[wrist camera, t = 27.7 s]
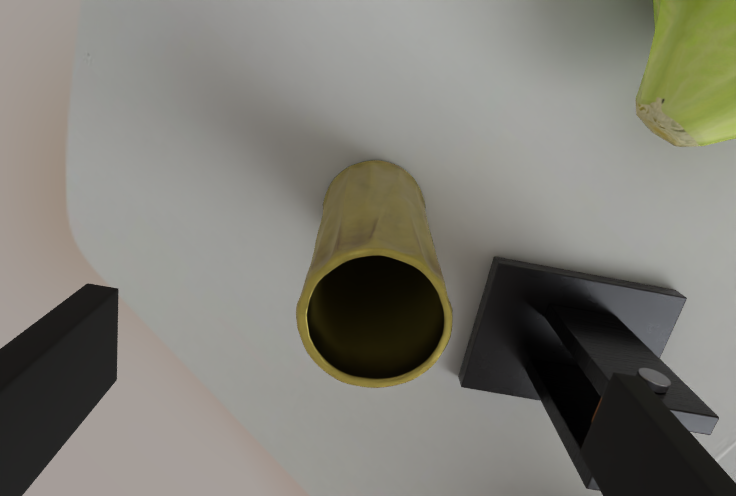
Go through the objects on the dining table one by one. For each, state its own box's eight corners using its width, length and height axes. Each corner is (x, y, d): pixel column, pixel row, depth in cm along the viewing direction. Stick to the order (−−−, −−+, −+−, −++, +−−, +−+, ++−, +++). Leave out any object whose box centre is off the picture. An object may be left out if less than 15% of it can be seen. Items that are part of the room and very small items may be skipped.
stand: (458, 376, 33) (495, 509, 23) (493, 256, 30) (554, 346, 20) (625, 405, 34) (732, 546, 24) (676, 289, 31) (824, 394, 21)
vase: (384, 138, 28) (395, 196, 15) (444, 220, 30) (503, 340, 16) (303, 200, 29) (243, 306, 16) (364, 275, 31) (357, 429, 17)
